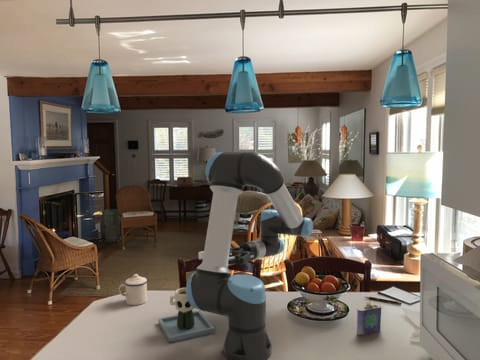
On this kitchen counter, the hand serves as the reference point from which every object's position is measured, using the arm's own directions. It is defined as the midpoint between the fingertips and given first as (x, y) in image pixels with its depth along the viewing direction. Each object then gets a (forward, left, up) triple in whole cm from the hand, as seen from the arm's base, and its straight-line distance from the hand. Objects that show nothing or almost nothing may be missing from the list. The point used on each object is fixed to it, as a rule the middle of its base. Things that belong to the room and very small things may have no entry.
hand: (209, 259), depth 146 cm
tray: (-4, +11, -23) cm, 25 cm away
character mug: (-4, +11, -22) cm, 25 cm away
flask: (-35, -45, -23) cm, 61 cm away
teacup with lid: (+29, +24, -23) cm, 44 cm away
